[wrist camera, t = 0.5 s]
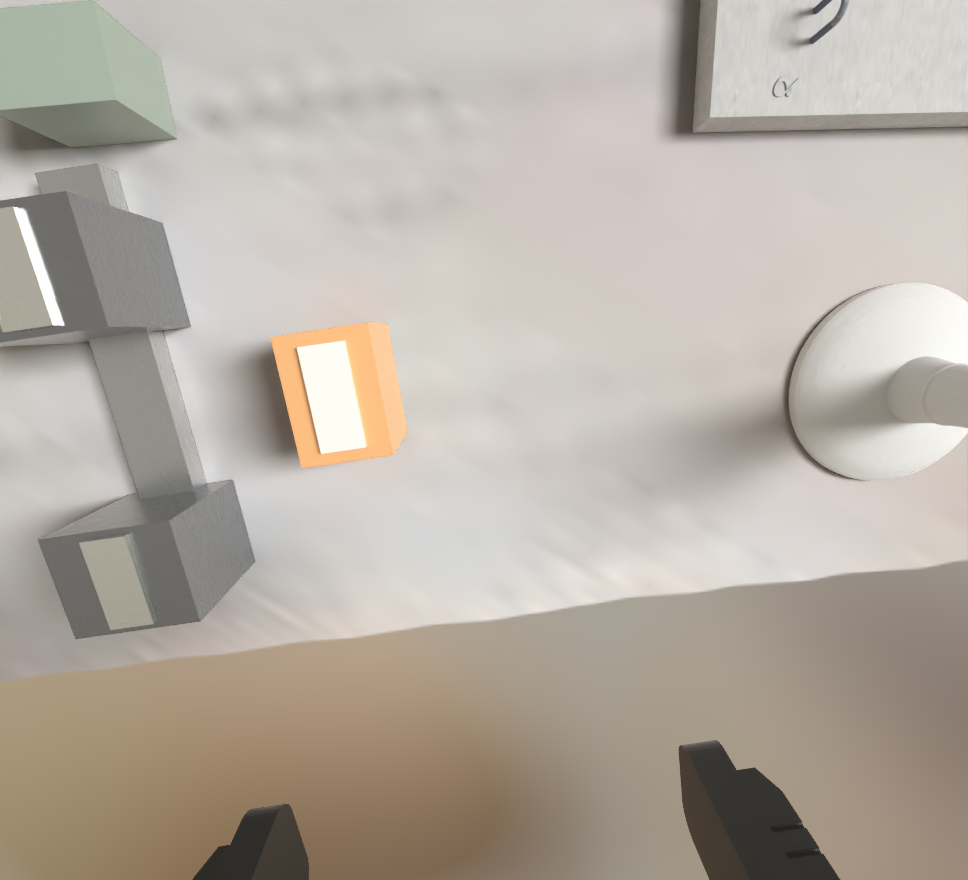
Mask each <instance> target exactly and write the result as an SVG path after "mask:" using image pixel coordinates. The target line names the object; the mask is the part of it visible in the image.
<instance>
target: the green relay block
mask: <svg viewBox="0 0 968 880" xmlns="http://www.w3.org/2000/svg"><path fill="white" fill-rule="evenodd" d="M0 116H1V117H4V118H6V119H8V120H10V121H13V122H15V123H17V124H19V125H22V126H24V127H26V128H28V129H31V130H33V131H35V132H37V133H40V134H42V135H44V136H46V137H49V138H51V139H53V140H55V141H58V142H60V143H62V144H64V145H67V146H69V147H71V148H78V147H89V146H100V145H112V144H123V143H135V142H146V141H158V140H169V139H177V134H176V129H175V124H174V120H173V115H172V110H171V105H170V100H169V96H168V91H167V86H166V81H165V76H164V71H163V67H162V62H161V58H160V57H159V56H158V55H157V54H155V53H154V52H153V51H152V50H151V49H150V48H148V47H147V46H146V45H145V44H144V43H143V42H141V41H140V40H139V39H138V38H137V37H136V36H134V35H133V34H132V33H131V32H130V31H129V30H127V29H126V28H125V27H124V26H123V25H122V24H120V23H119V22H118V21H117V20H116V19H115V18H114V17H112V16H111V15H110V14H109V13H108V12H107V11H105V10H104V9H103V8H102V7H101V6H100V5H98V4H97V3H96V2H95V1H94V0H88V1H76V2H65V3H53V4H42V5H30V6H19V7H7V8H0Z"/></svg>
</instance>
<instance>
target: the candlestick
mask: <svg viewBox="0 0 968 880" xmlns="http://www.w3.org/2000/svg"><path fill="white" fill-rule="evenodd" d="M789 413H790V418H791V422H792V426H793V428H794V431H795V434H796V436H797V438H798V440H799V441H800V443H801V445H802V446H803V447H804V449H805V450H806V451H807V452H808V454H809V455H810V456H811V457H812V458H813V459H815V460H816V461H817V462H818V463H820V464H821V465H822V466H824V467H826V468H827V469H829V470H831V471H834V472H836V473H838V474H841V475H843V476H846V477H850V478H854V479H859V480H868V481H881V480H890V479H896V478H900V477H904V476H907V475H910V474H913V473H915V472H917V471H920V470H922V469H924V468H926V467H928V466H929V465H931V464H933V463H934V462H936V461H937V460H939V459H940V458H942V457H943V456H944V455H946V454H947V453H948V452H949V451H950V450H952V449H953V448H954V447H955V446H956V445H957V444H958V443H959V442H960V441H961V440H962V439H963V438H964V436H965V435H966V434H967V433H968V303H967V302H966V301H965V300H963V299H962V298H961V297H959V296H958V295H956V294H954V293H953V292H951V291H949V290H946V289H944V288H941V287H938V286H934V285H930V284H924V283H897V284H889V285H884V286H879V287H876V288H873V289H870V290H867V291H864V292H862V293H860V294H858V295H856V296H854V297H852V298H850V299H849V300H847V301H845V302H844V303H842V304H841V305H839V306H838V307H837V308H835V309H834V310H833V311H832V312H831V313H830V314H828V315H827V316H826V317H825V318H824V319H823V320H822V321H821V322H820V324H819V325H818V326H817V327H816V328H815V329H814V331H813V332H812V333H811V335H810V336H809V337H808V339H807V341H806V342H805V344H804V345H803V347H802V349H801V351H800V353H799V355H798V358H797V360H796V363H795V365H794V368H793V372H792V375H791V380H790V386H789Z"/></svg>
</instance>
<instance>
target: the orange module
mask: <svg viewBox="0 0 968 880" xmlns="http://www.w3.org/2000/svg"><path fill="white" fill-rule="evenodd" d="M270 339H271V343H272V347H273V351H274V355H275V360H276V364H277V368H278V372H279V376H280V380H281V385H282V389H283V393H284V397H285V401H286V405H287V410H288V414H289V418H290V422H291V426H292V430H293V435H294V439H295V443H296V447H297V451H298V455H299V460H300V464H301V468H309V467H315V466H322V465H329V464H336V463H343V462H350V461H357V460H364V459H371V458H377V457H384V456H391V455H394V453H395V452H396V450H397V448H398V447H399V445H400V443H401V442H402V440H403V438H404V437H405V435H406V433H407V426H406V421H405V415H404V410H403V404H402V399H401V394H400V388H399V383H398V377H397V372H396V366H395V361H394V355H393V350H392V345H391V339H390V334H389V328H388V323H362V324H355V325H348V326H341V327H335V328H328V329H321V330H314V331H307V332H301V333H294V334H287V335H280V336H274V337H270Z"/></svg>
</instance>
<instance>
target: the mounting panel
mask: <svg viewBox="0 0 968 880" xmlns="http://www.w3.org/2000/svg"><path fill="white" fill-rule="evenodd" d="M924 127H968V0H701V1H700V17H699V33H698V50H697V66H696V82H695V99H694V115H693V131H692V133H703V132H747V131H791V130H836V129H880V128H924Z"/></svg>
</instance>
